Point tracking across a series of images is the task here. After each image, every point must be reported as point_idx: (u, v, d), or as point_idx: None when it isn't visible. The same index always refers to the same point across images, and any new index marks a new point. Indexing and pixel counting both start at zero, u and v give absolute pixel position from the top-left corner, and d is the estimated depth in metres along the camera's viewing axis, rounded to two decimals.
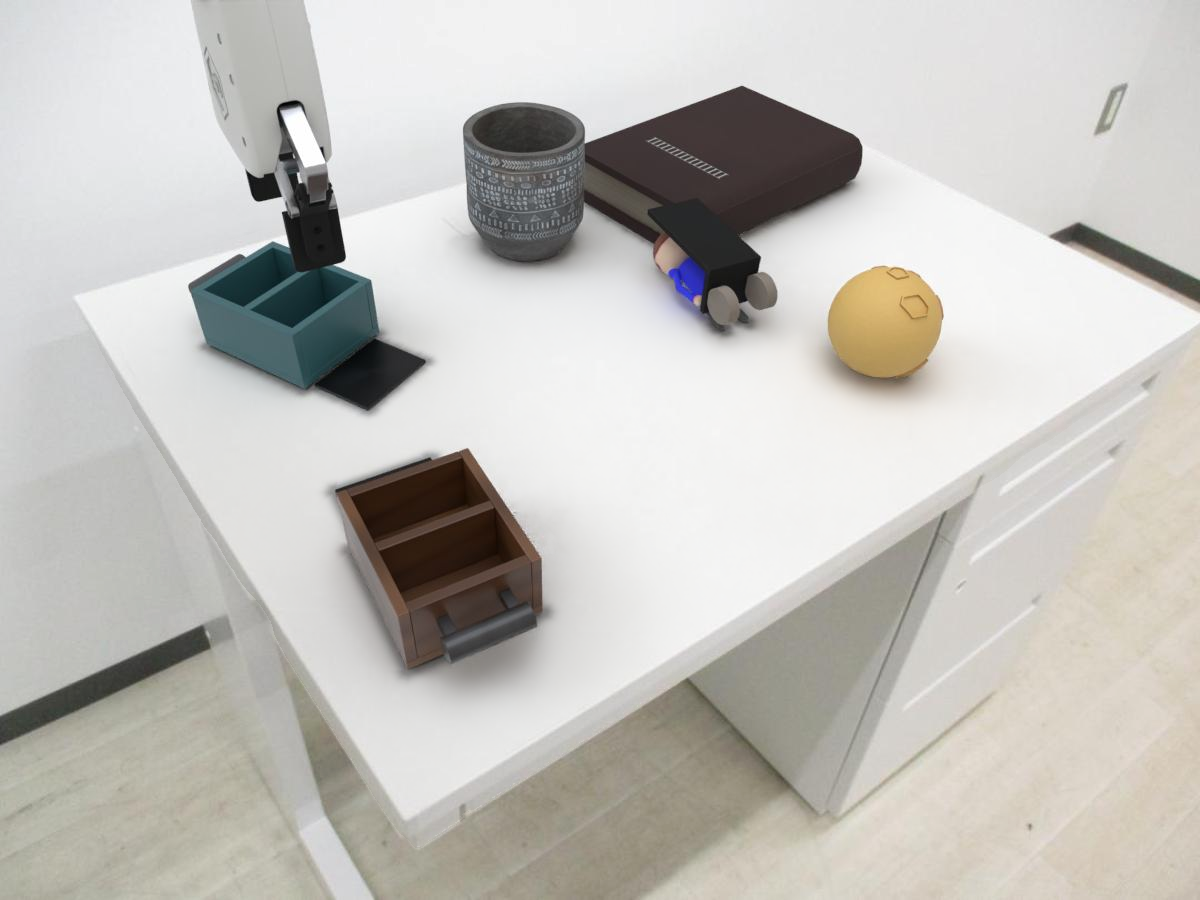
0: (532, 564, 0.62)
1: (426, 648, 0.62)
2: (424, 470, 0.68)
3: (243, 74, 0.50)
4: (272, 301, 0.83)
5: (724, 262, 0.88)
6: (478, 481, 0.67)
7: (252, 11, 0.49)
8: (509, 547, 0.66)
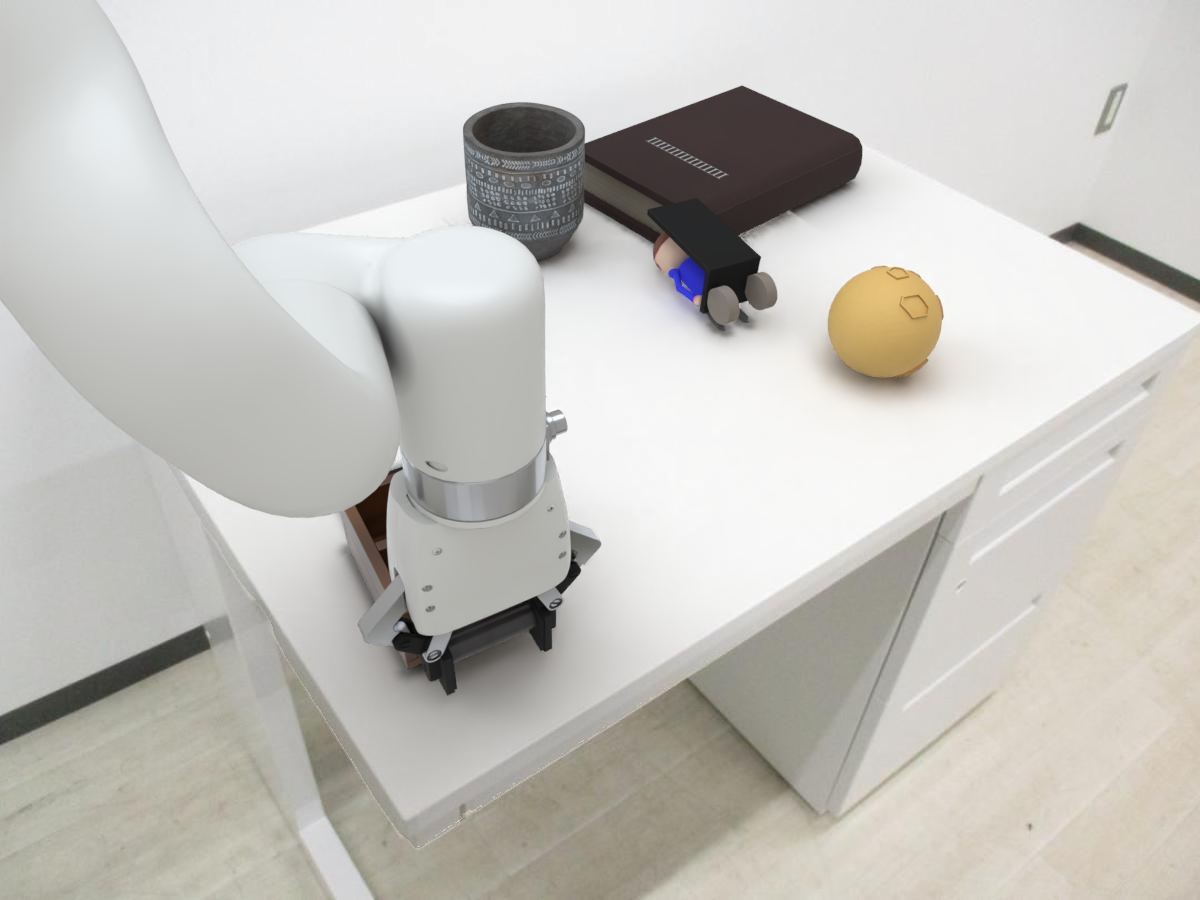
0: None
1: None
2: None
3: (386, 526, 0.53)
4: None
5: (724, 262, 0.88)
6: None
7: (391, 501, 0.50)
8: None
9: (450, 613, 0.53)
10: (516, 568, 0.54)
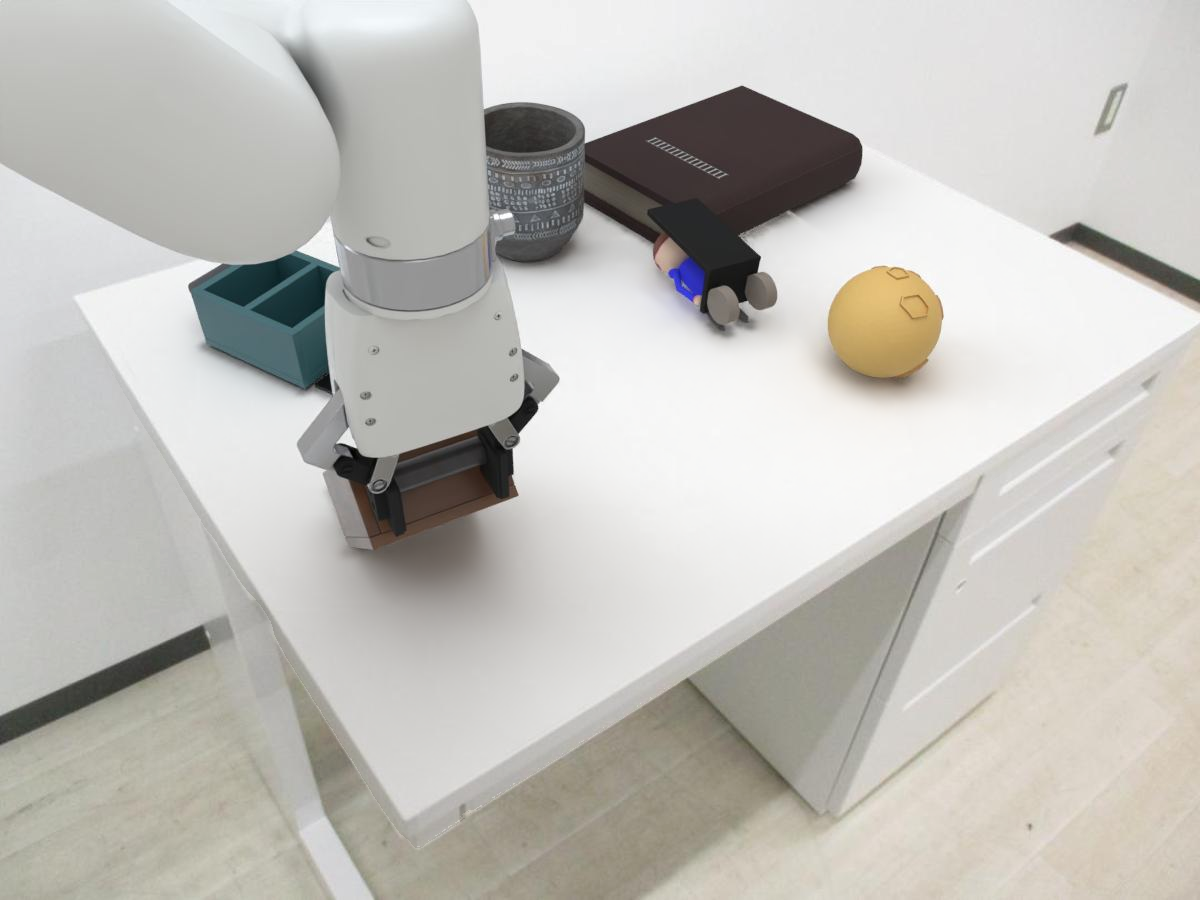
0: None
1: None
2: None
3: None
4: (272, 301, 0.83)
5: (723, 262, 0.88)
6: None
7: (326, 298, 0.47)
8: None
9: (393, 431, 0.51)
10: (463, 385, 0.51)
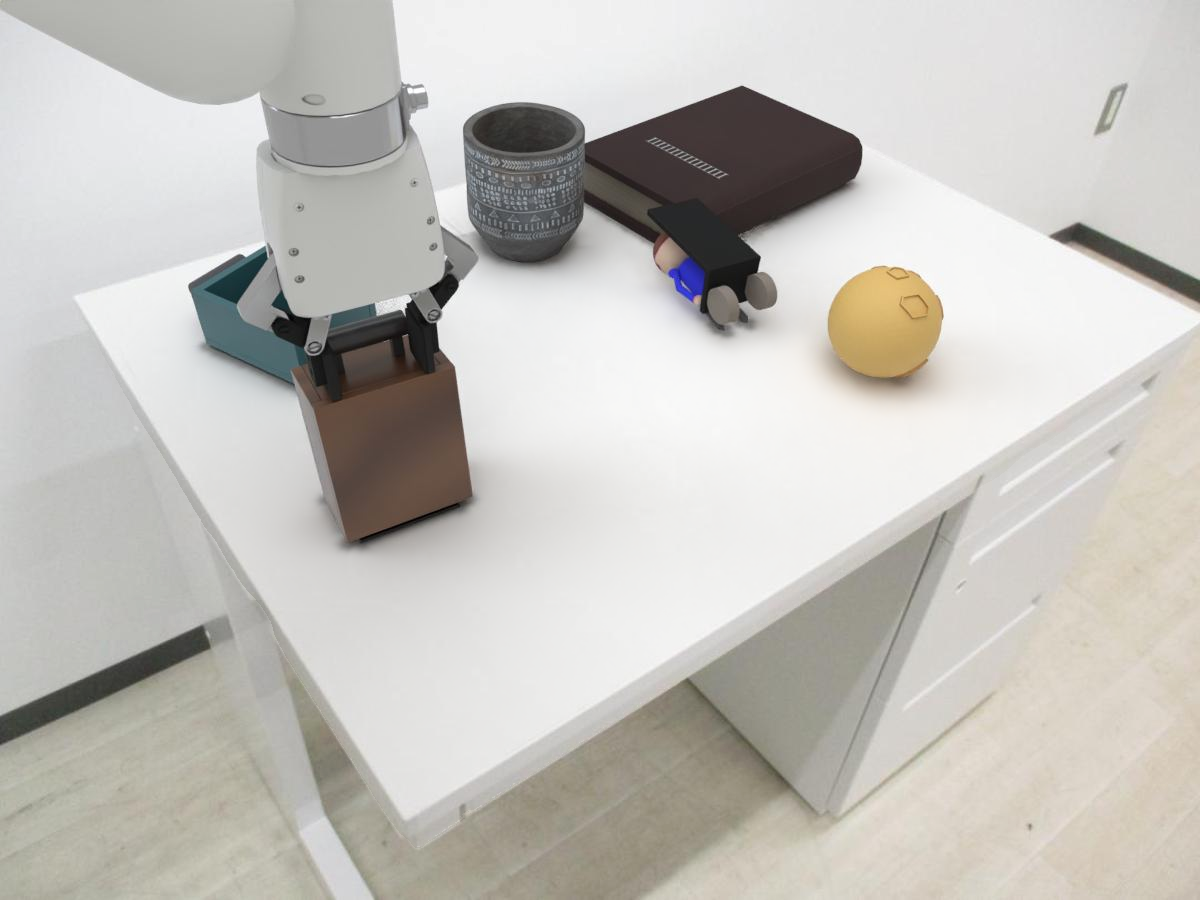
0: None
1: None
2: None
3: None
4: None
5: (723, 262, 0.88)
6: None
7: (257, 161, 0.53)
8: None
9: (321, 290, 0.56)
10: (384, 248, 0.56)
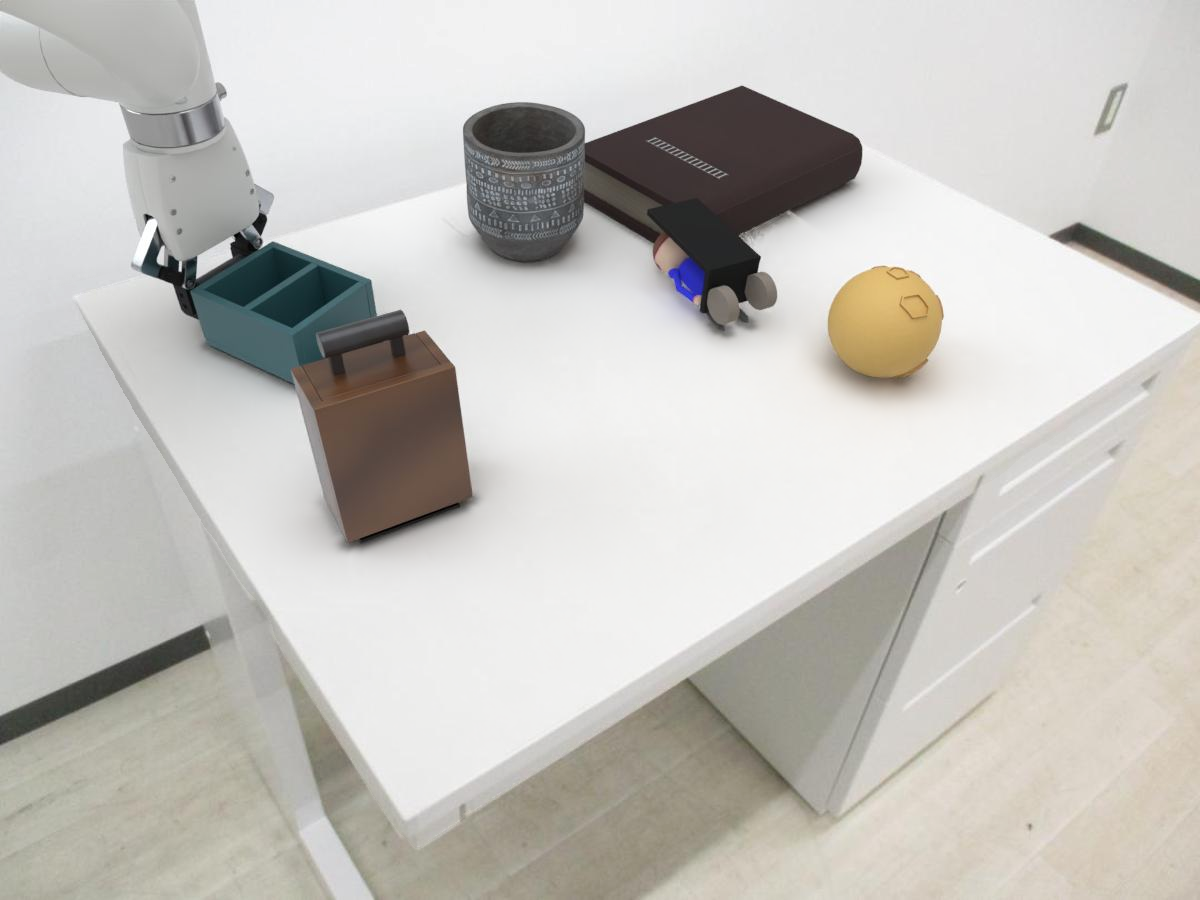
0: (416, 333, 0.69)
1: (328, 392, 0.64)
2: None
3: (128, 188, 0.79)
4: (272, 301, 0.83)
5: (723, 262, 0.88)
6: None
7: (128, 157, 0.77)
8: None
9: (193, 236, 0.81)
10: (226, 198, 0.83)
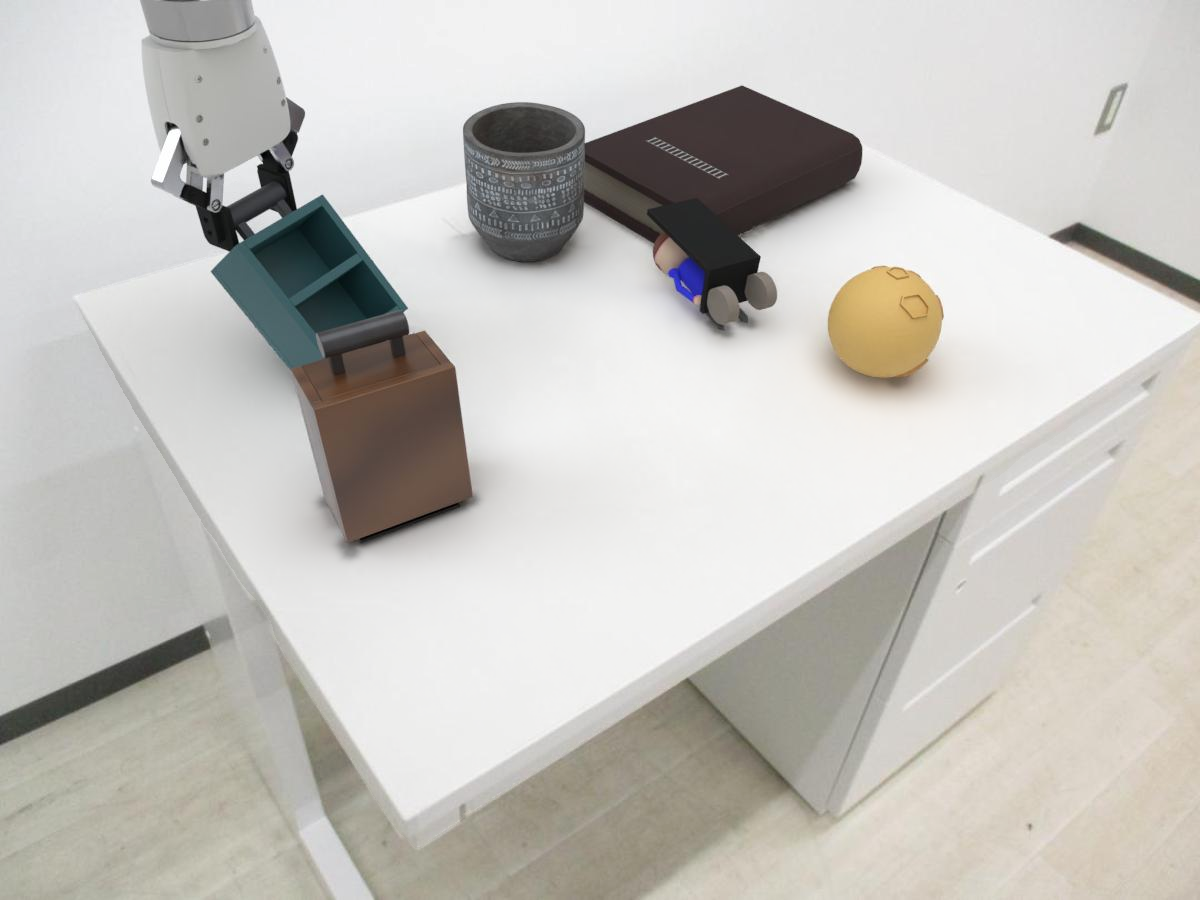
0: (416, 333, 0.69)
1: (328, 392, 0.64)
2: None
3: (147, 92, 0.70)
4: (313, 294, 0.80)
5: (723, 262, 0.88)
6: None
7: (148, 53, 0.68)
8: None
9: (220, 149, 0.72)
10: (255, 107, 0.74)
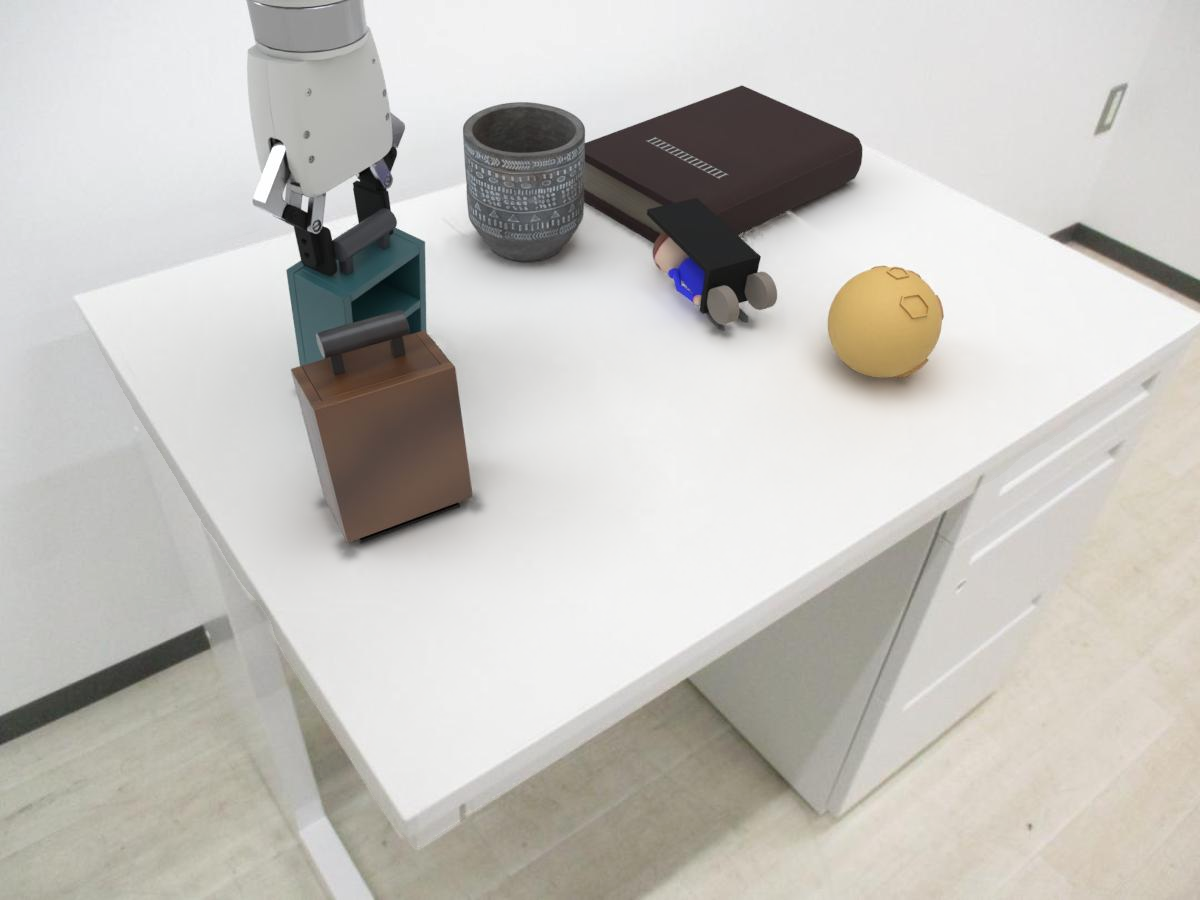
0: (416, 333, 0.69)
1: (328, 392, 0.64)
2: None
3: (251, 106, 0.65)
4: None
5: (723, 262, 0.88)
6: None
7: (256, 64, 0.63)
8: None
9: (325, 167, 0.67)
10: (361, 121, 0.69)
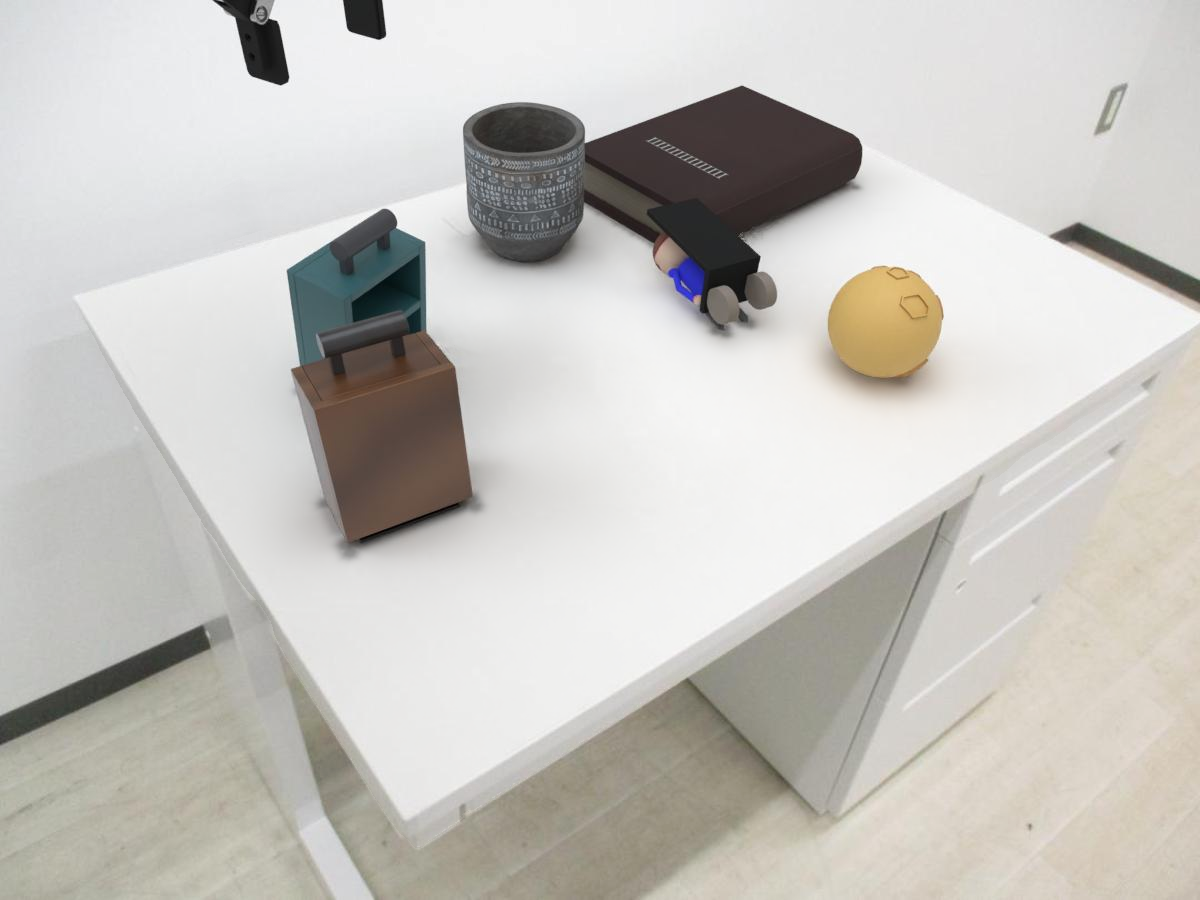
0: (416, 333, 0.69)
1: (328, 392, 0.64)
2: None
3: None
4: None
5: (723, 262, 0.88)
6: None
7: None
8: None
9: None
10: None
